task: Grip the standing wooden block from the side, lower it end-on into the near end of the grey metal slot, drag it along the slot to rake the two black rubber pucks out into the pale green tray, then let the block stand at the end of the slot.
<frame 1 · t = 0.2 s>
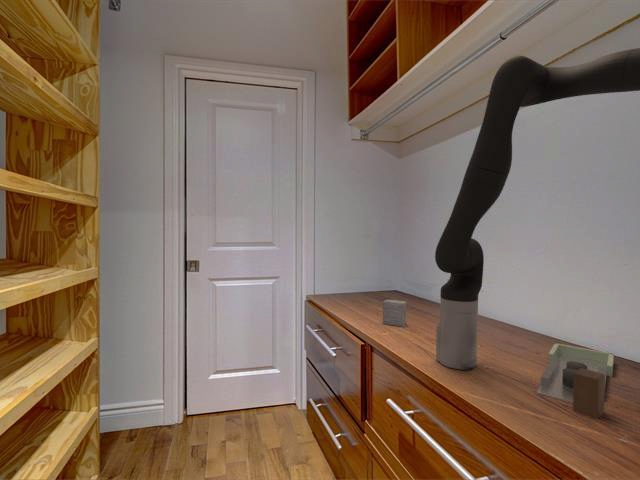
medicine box: (394, 324, 132), on the cabinet
wooden block: (587, 415, 68), on the cabinet
puck b: (576, 377, 84), resting on slot board
puck a: (573, 385, 80), resting on slot board
slot board: (576, 377, 85), on the cabinet
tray: (580, 365, 93), resting on slot board
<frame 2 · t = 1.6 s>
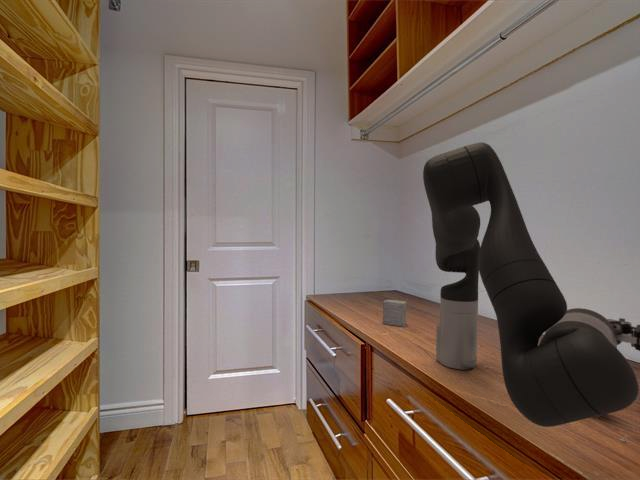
hand: (588, 320, 59), 20 cm above the cabinet, tool horizontal, fingers open, 8 cm apart
nothing on the cabinet moved.
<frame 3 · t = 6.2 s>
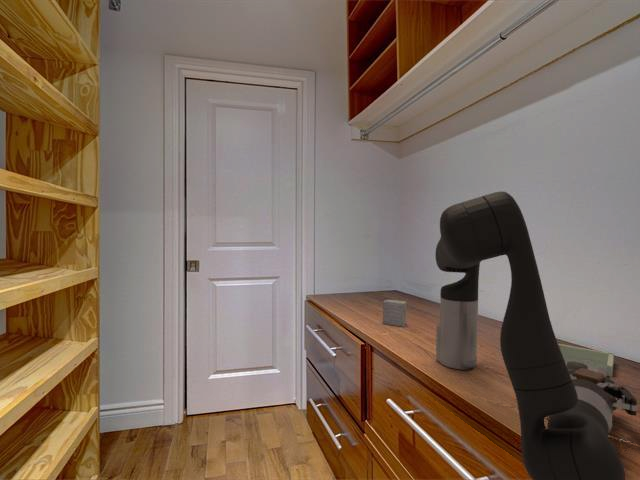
hand: (589, 378, 70), 6 cm above the cabinet, tool horizontal, fingers closed on wooden block, 4 cm apart
wooden block: (587, 414, 68), on the cabinet, touching gripper
everything else where it was.
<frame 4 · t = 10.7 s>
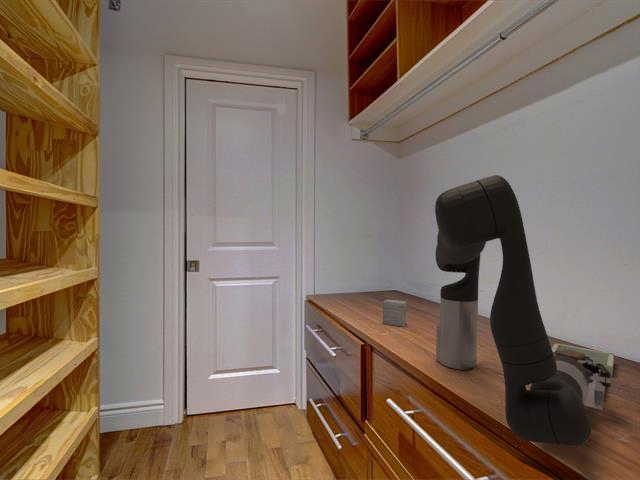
hand: (572, 358, 77), 7 cm above the cabinet, tool horizontal, fingers closed on wooden block, 4 cm apart
wooden block: (569, 390, 75), point 1 cm above the cabinet, touching gripper
everything else where it was.
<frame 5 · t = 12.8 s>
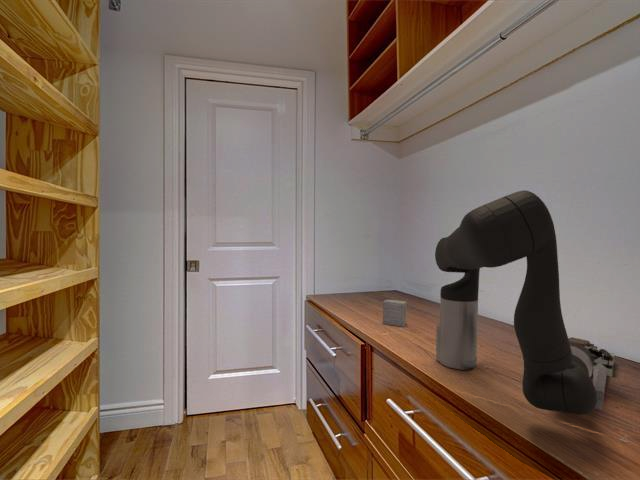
hand: (578, 345, 86), 7 cm above the cabinet, tool horizontal, fingers closed on wooden block, 4 cm apart
wooden block: (576, 374, 84), point 1 cm above the cabinet, touching gripper
puck b: (582, 368, 89), resting on slot board, touching puck a
puck a: (582, 373, 86), point 1 cm above the cabinet, touching puck b
everything else where it was.
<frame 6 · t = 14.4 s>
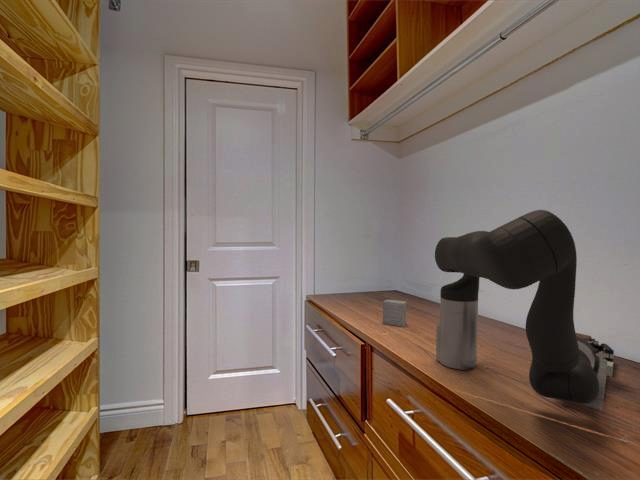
hand: (580, 340, 90), 7 cm above the cabinet, tool horizontal, fingers closed on wooden block, 4 cm apart
wooden block: (578, 367, 88), point 1 cm above the cabinet, touching gripper
puck b: (581, 362, 94), resting on slot board
puck a: (589, 368, 90), resting on slot board
everything else where it was.
when the fingers open (7 cm above the cabinet, at t = 15.6 s): wooden block stays where it is, resting on slot board.
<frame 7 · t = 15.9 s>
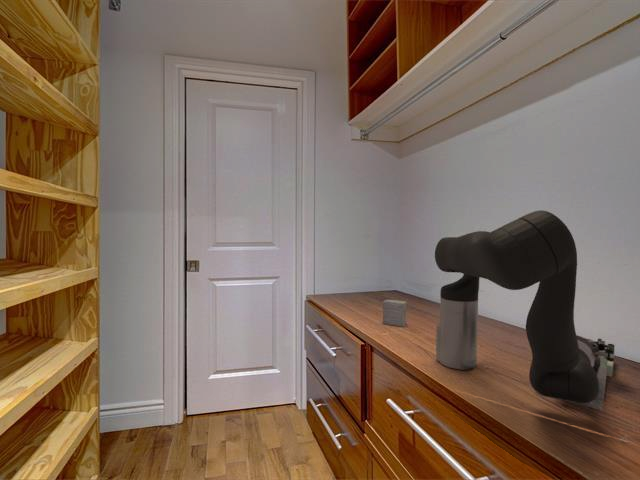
hand: (579, 339, 90), 8 cm above the cabinet, tool horizontal, fingers open, 7 cm apart
wooden block: (579, 371, 88), resting on slot board
everything else where it was.
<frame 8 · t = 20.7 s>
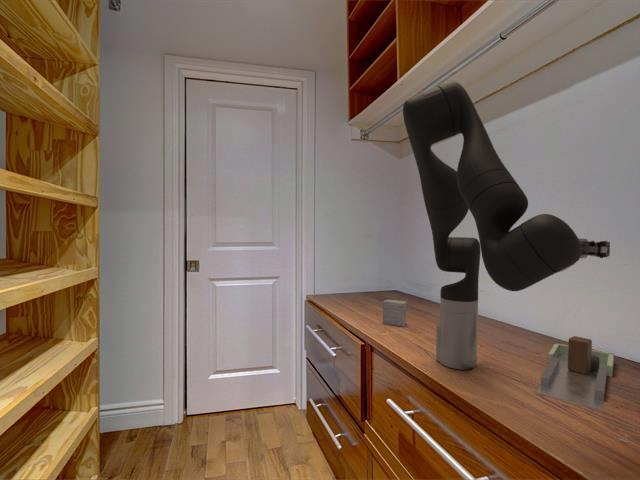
hand: (563, 246, 69), 32 cm above the cabinet, tool horizontal, fingers open, 8 cm apart
nothing on the cabinet moved.
at the end: puck a 3.3 cm from the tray (horizontally); puck b 0.7 cm from the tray (horizontally); the gripper is holding nothing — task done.
